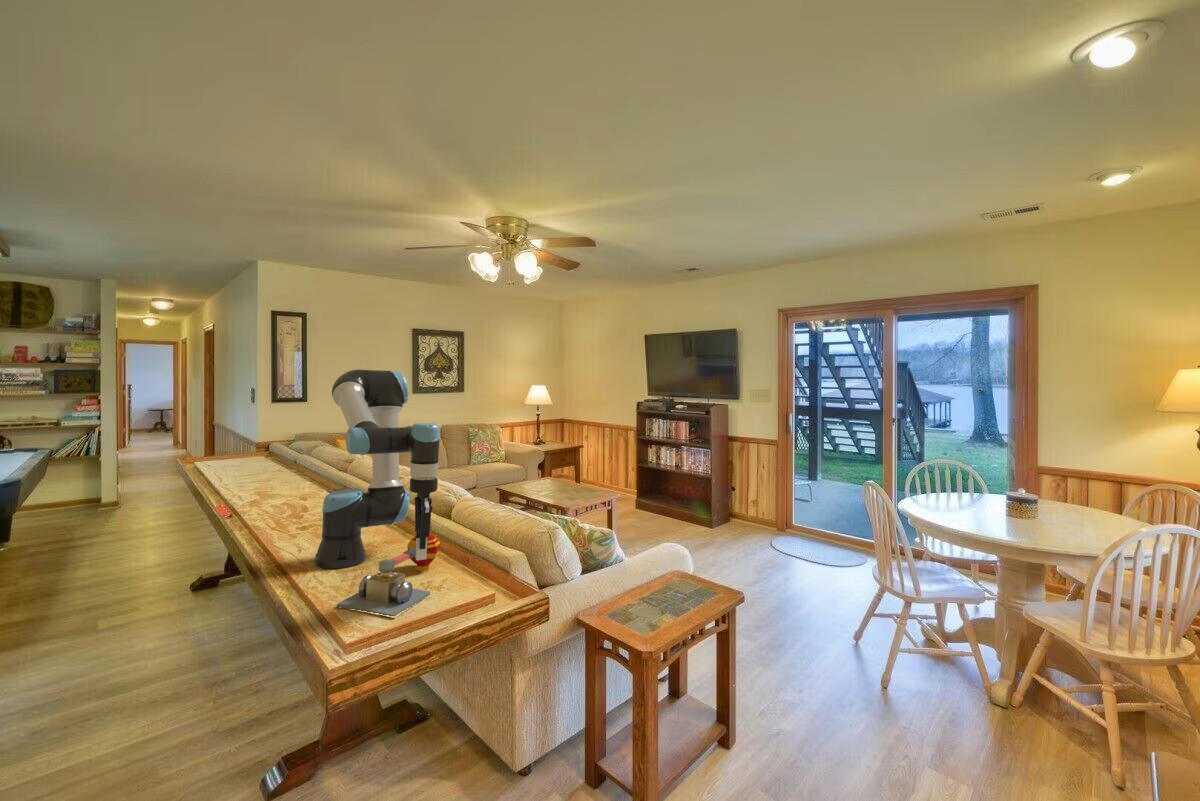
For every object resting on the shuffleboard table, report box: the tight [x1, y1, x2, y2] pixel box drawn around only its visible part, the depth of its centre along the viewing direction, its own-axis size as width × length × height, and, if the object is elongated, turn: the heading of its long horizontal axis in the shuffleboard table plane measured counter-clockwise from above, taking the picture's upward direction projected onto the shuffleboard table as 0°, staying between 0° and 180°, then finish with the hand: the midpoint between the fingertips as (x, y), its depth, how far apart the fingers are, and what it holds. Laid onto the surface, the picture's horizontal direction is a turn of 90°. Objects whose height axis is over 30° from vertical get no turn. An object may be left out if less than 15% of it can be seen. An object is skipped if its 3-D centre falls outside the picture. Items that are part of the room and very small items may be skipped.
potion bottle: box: [406, 521, 441, 572], centre depth 168 cm, size 10×10×15 cm
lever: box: [378, 547, 416, 572], centre depth 148 cm, size 16×4×2 cm, turn 165°
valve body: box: [358, 570, 414, 605], centre depth 143 cm, size 14×7×8 cm, turn 75°
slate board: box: [336, 588, 431, 616], centre depth 143 cm, size 18×16×1 cm
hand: (421, 558), depth 147 cm, fingers closed
